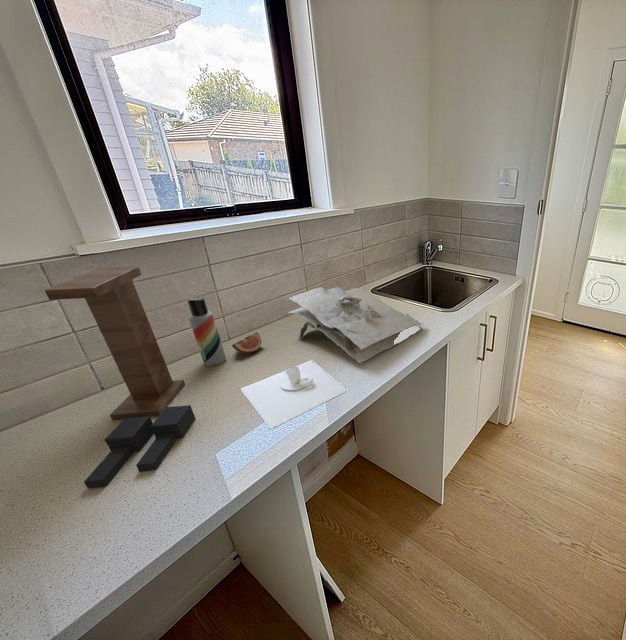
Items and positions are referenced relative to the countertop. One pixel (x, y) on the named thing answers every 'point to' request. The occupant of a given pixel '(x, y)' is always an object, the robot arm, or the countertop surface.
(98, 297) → the walnut stand
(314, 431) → the countertop surface
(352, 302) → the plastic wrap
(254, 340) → the fruit slice
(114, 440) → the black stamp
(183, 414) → the black angular piece
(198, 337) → the lotion bottle
